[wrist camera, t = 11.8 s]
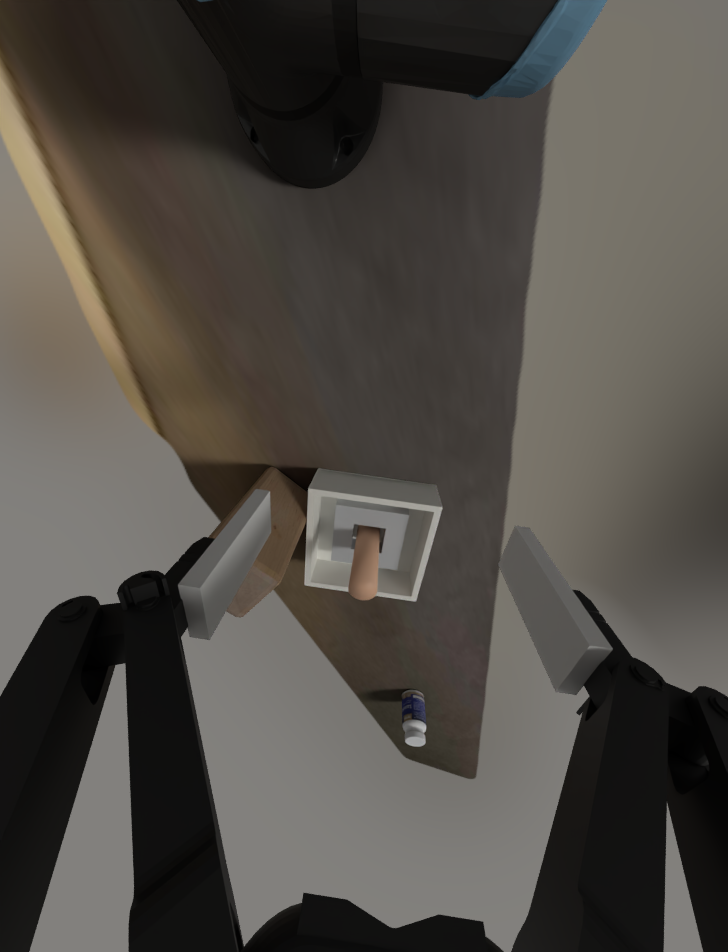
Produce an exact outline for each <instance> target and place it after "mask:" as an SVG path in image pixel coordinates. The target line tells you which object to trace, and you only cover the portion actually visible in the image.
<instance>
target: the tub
mask: <svg viewBox="0 0 728 952" xmlns="http://www.w3.org/2000/svg"><path fill="white" fill-rule="evenodd" d="M442 508H443V507H442V503H441V500H440V497H439V493H438V490H437V486H436V485H434V484H427V483H420V482H413V481H406V480H399V479H392V478H385V477H378V476H371V475H363V474H356V473H349V472H342V471H335V470H328V469H321V468H318V470H317V472H316V474H315V476H314V478H313V480H312V482H311V484H310V486H309V488H308V505H307V532H306V558H305V585H306V586H313V587H320V588H327V589H334V590H340V591H347V592H349V591H348V587H349V581H350V574H351V568H352V561H353V555H354V549H355V542H356V536H357V529H358V525H364V526H371V527H378V528H380V540H379V562H378V583H377V594H376V595H375V596H381V597H388V598H395V599H402V600H409V601H416V599H417V596H418V592H419V589H420V585H421V582H422V578H423V575H424V571H425V568H426V564H427V561H428V557H429V554H430V550H431V547H432V543H433V540H434V536H435V532H436V529H437V525H438V522H439V518H440V515H441V511H442Z"/></svg>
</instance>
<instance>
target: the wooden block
mask: <svg viewBox="0 0 728 952" xmlns="http://www.w3.org/2000/svg"><path fill="white" fill-rule="evenodd" d="M255 489H260V490H267V491H270V507H271V533H270V535H269V537H268V539H267V540H266V542H265V544H264V546H263V547H262V549H261V551H260V553H259V554H258V556H257V558H256V560H255V561H254V563H253V565H252V567H251V568H250V570H249V572H248V574H247V575H246V577H245V579H244V581H243V582H242V584H241V586H240V588H239V589H238V591H237V593H236V595H235V596H234V598H233V600H232V602H231V603H230V605H229V607H228V609H227V610H226V611H227V612H229V613H230V614H232V615H234V616H235V617H243V616H244V615H245V614H246V613H248V612H249V611H250V610H251V609H252V608H253V607H254V606H255V605H256V604H258V603H259V602H260V601H261V600H262V599H263V598H264V597H265V596H266V595H267V594H269V593H270V592H271V591H272V590H273V589H274V588H275V587H276V586H278V585H279V584H280V583H281V581H282V578H283V576H284V573H285V571H286V569H287V566H288V564H289V562H290V559H291V557H292V554H293V552H294V550H295V547H296V545H297V543H298V540H299V538H300V536H301V533H302V531H303V528H304V526H305V524H306V521H307V505H308V492H306V491H305V490H304V489H302V488H301V487H300V486H298V485H297V484H296V483H295V482H293V481H292V480H291V479H289V478H288V477H287V476H285V475H284V474H283V473H282V472H280V471H279V470H278V469H276V468H275V467H269V468H267V469H266V470H265V471H264V473H263V474H262V475H261V476H260V477H259V479H258V480H257V481H256V482H255V483H254V484H253V486H252V487H251V488H250V489H249V490H248V491H247V493H246V494H245V495H244V496H243V497H242V498H241V500H240V501H239V502H238V503H237V504H236V506H235V507H234V508H233V509H232V510H231V511H230V513H229V514H228V515H227V516H226V517H225V518H224V520H223V521H222V522H221V523H220V524H219V525H218V527H217V528H216V529H215V530H214V531H213V533H212V534H211V535H210V536H209V537H208V538H214V539H215V538H216V537H217V536H218V535H219V534H220V532H221V531H222V530H223V529H224V527H225V526H226V525H227V524H228V523H229V521H230V520H231V519H232V518H233V516H234V515H235V514H236V513H237V511H238V510H239V509H240V508H241V507H242V505H243V504H244V503H245V502H246V500H247V499H248V498H249V497H250V496H251V494H252V493H253V492H254V491H255Z"/></svg>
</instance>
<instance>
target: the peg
mask: <svg viewBox="0 0 728 952" xmlns="http://www.w3.org/2000/svg"><path fill="white" fill-rule="evenodd" d="M379 540H380V528H378V527H371V526H364V525H358V529H357V536H356V542H355V549H354V555H353V561H352V568H351V574H350V581H349V587H348V591H349V593H350V594H351V596H353V597H354V598H356V599H359V600H369V599H371V598H373V597H374V596H375V595H376V594H377V583H378V562H379Z"/></svg>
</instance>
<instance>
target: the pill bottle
mask: <svg viewBox="0 0 728 952" xmlns="http://www.w3.org/2000/svg"><path fill="white" fill-rule="evenodd" d="M402 723H403V729H404V731H405V732H406V734H405V742H406V743H407V744H408V745H411V746H423V745H424V744H425V735H424V732H425V731H426V717H425V704H424V696H423V694H422V693H421V692H420V691H417V690H407V691H405V692H403V694H402Z"/></svg>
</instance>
